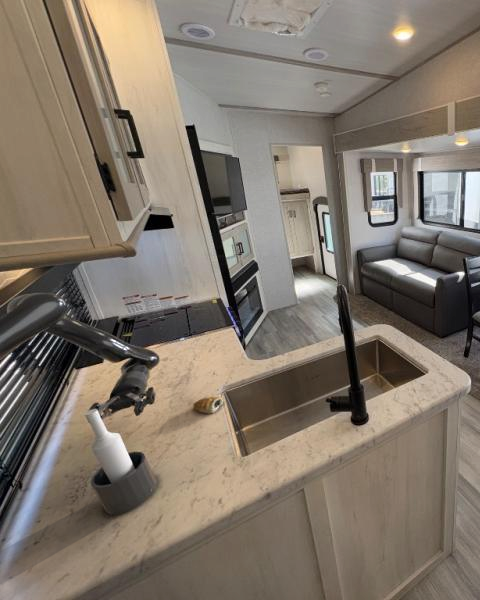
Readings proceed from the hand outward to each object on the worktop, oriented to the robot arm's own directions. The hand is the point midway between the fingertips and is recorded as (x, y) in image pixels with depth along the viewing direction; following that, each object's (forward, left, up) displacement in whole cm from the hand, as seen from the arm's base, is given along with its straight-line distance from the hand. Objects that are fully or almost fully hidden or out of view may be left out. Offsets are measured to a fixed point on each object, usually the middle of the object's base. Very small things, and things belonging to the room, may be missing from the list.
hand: (116, 419), depth 80 cm
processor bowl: (0, -10, -17) cm, 20 cm away
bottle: (0, -10, -16) cm, 19 cm away
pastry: (+17, +18, -17) cm, 30 cm away
